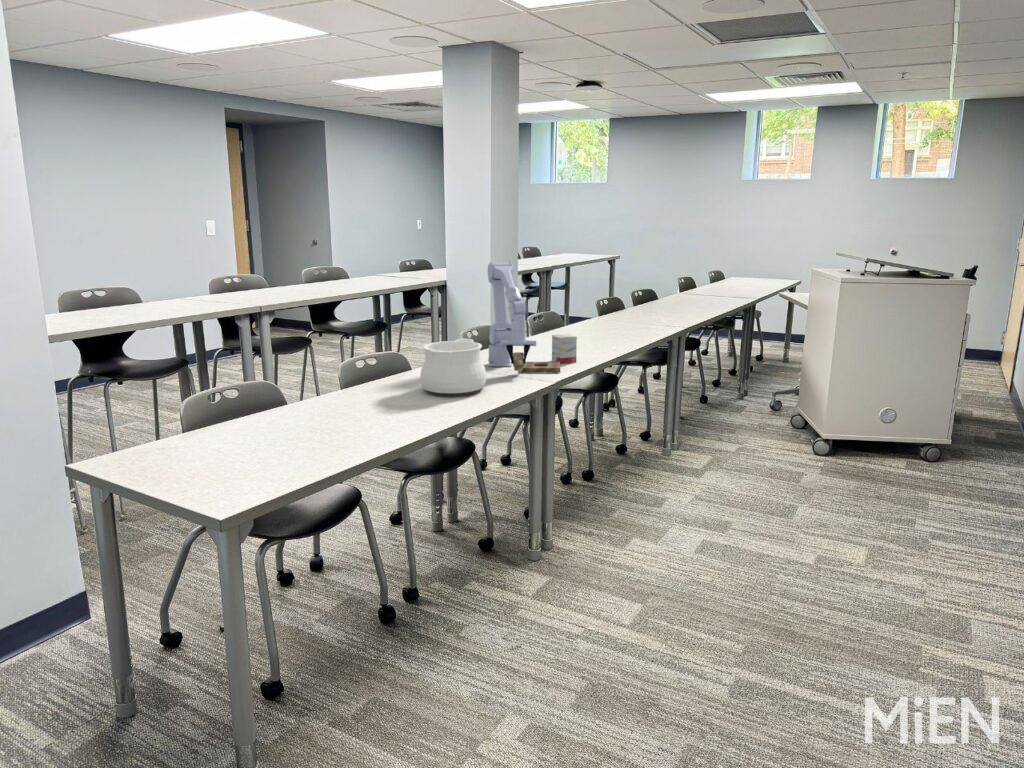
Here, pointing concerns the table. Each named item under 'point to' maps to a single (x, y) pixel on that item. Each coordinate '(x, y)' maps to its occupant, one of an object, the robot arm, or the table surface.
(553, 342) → the ink box
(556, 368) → the board
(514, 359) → the peg
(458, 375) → the pot
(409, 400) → the table surface
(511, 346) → the robot arm
